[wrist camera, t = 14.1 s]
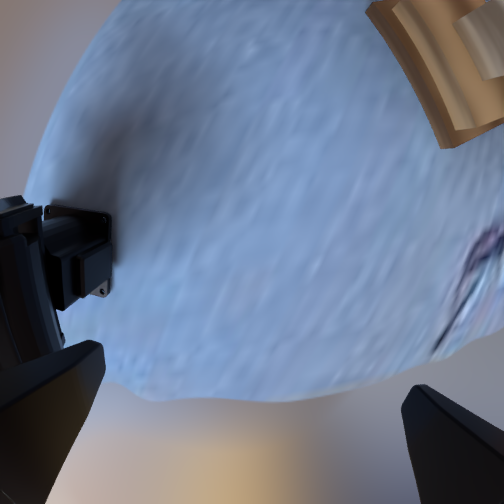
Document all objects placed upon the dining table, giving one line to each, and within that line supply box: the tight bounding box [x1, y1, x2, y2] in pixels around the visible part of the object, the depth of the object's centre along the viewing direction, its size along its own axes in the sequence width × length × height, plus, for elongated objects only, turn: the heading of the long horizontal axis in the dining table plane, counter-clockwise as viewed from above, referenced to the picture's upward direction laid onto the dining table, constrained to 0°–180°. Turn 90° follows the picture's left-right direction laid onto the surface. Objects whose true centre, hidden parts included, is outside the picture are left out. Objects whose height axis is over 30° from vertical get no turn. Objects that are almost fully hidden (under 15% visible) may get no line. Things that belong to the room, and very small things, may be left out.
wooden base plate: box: [365, 0, 504, 149], centre depth 14 cm, size 12×12×2 cm
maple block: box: [392, 0, 504, 130], centre depth 12 cm, size 10×10×2 cm
